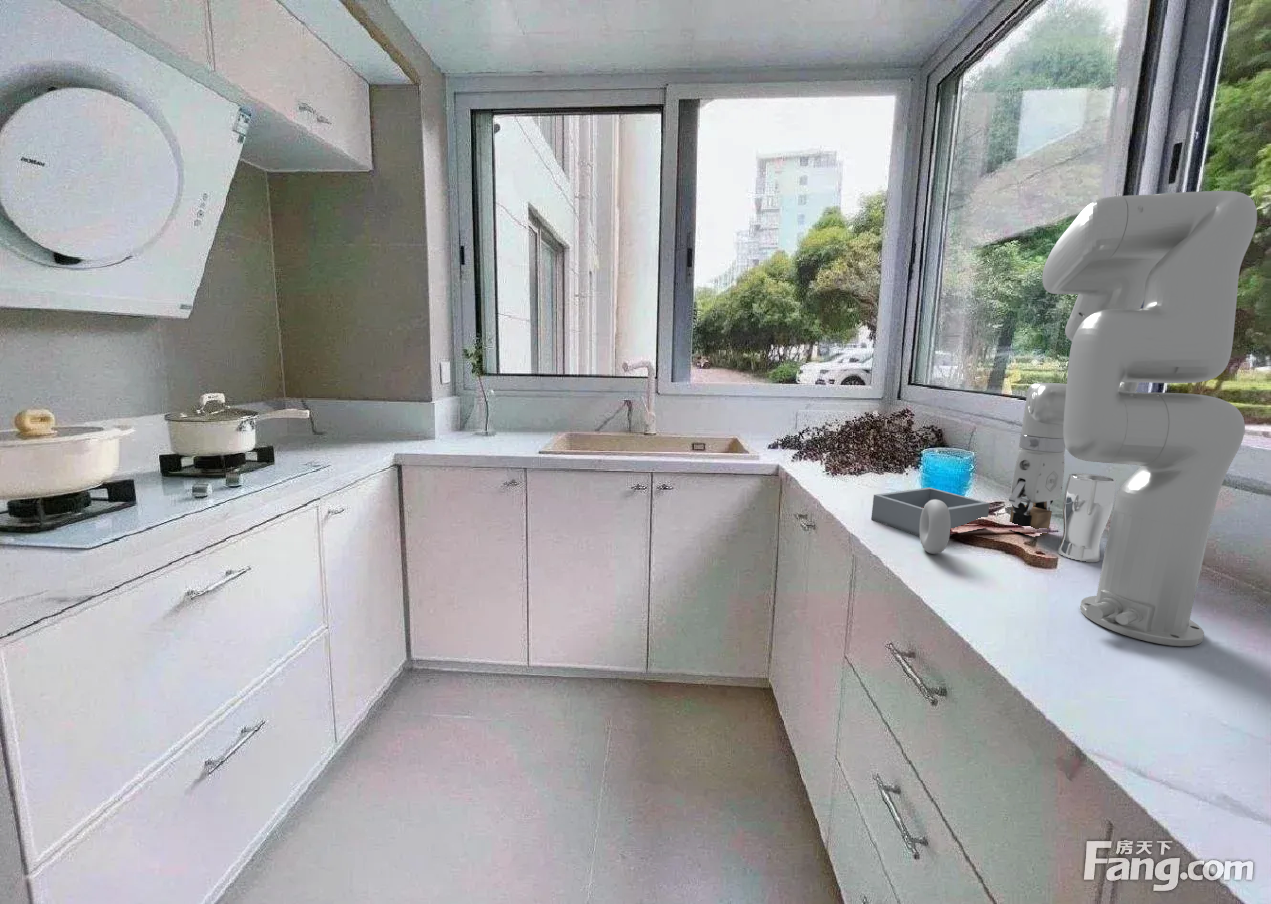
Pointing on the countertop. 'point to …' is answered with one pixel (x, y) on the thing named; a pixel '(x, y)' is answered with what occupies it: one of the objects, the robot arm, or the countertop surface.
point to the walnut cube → (1038, 518)
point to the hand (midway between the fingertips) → (1028, 529)
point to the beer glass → (1085, 515)
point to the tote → (907, 510)
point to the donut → (935, 526)
